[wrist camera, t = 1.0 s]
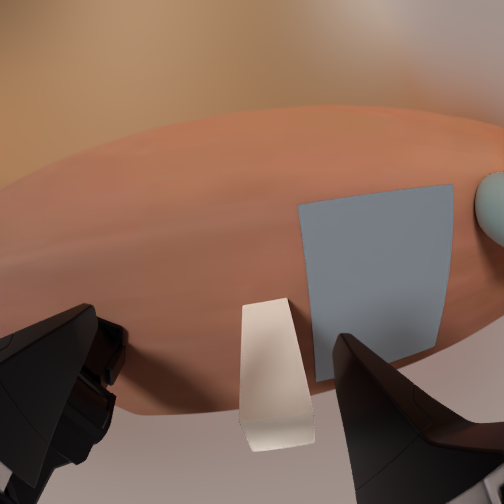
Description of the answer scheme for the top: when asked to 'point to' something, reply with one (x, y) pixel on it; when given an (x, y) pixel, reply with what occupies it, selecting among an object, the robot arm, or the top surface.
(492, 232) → the cup
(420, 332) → the slate mat
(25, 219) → the top surface
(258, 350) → the block
